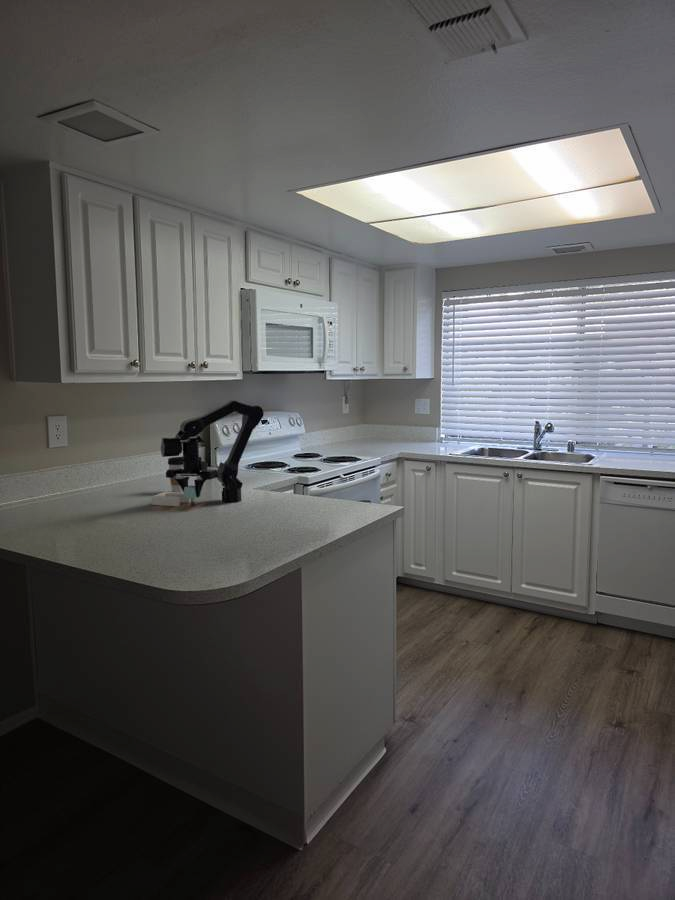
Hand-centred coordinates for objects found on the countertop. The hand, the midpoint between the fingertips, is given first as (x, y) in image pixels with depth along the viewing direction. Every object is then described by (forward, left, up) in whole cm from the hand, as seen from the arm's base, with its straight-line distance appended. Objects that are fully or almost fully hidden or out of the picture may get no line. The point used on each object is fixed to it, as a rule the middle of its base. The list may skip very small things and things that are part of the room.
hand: (192, 496), depth 228 cm
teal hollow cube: (0, 0, 0) cm, 0 cm away
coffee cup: (+22, -25, -4) cm, 33 cm away
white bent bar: (+9, 0, -3) cm, 10 cm away
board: (+6, +3, -4) cm, 7 cm away
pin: (0, 0, -4) cm, 4 cm away
